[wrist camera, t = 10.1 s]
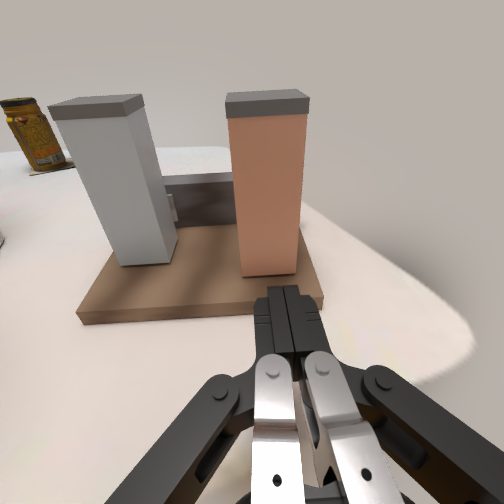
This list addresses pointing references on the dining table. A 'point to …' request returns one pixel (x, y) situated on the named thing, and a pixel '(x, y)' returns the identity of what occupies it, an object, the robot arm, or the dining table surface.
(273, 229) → the orange-brown tall block
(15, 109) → the condiment
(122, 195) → the grey tall block
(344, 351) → the dining table surface
